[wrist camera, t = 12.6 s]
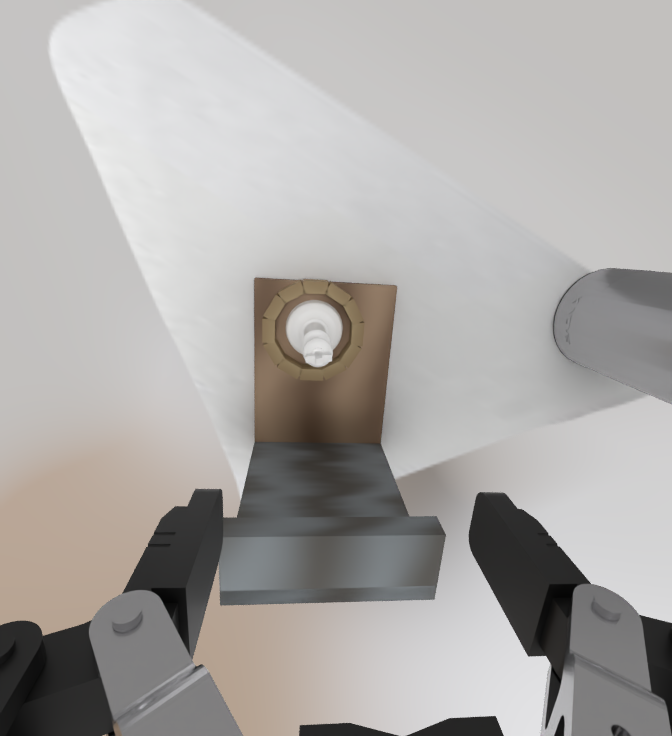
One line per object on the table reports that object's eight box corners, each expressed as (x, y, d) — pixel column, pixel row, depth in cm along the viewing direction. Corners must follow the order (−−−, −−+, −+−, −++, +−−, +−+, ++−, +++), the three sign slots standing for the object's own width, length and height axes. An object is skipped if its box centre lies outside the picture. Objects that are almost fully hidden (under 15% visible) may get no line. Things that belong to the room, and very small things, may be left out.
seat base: (394, 282, 34) (483, 320, 17) (377, 447, 39) (434, 599, 22) (255, 275, 33) (209, 307, 16) (255, 446, 38) (220, 605, 21)
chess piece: (283, 301, 33) (275, 325, 23) (341, 298, 33) (357, 320, 24) (288, 357, 34) (282, 401, 25) (343, 353, 35) (359, 395, 25)
